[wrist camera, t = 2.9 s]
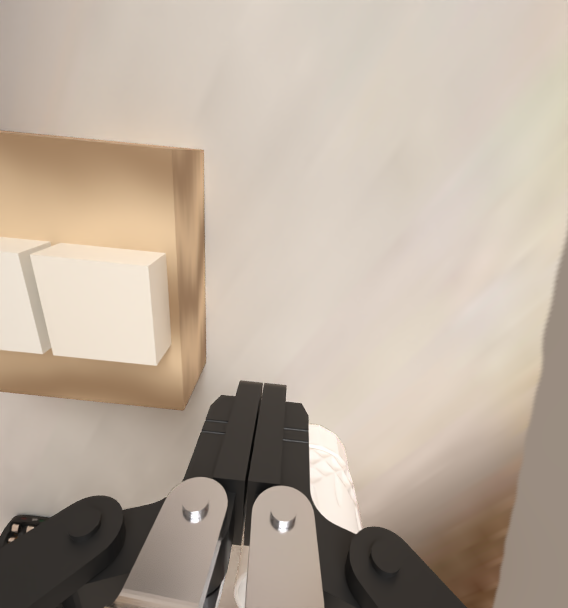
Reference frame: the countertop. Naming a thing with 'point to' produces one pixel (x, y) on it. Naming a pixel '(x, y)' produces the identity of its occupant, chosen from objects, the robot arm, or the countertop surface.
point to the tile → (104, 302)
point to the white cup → (319, 493)
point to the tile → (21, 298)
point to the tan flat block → (115, 234)
